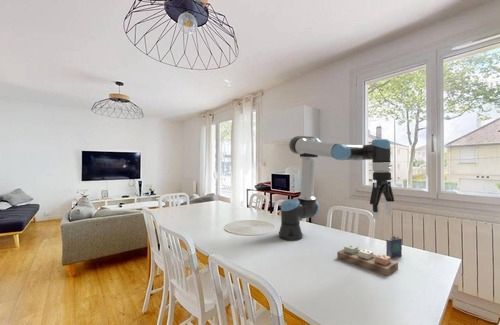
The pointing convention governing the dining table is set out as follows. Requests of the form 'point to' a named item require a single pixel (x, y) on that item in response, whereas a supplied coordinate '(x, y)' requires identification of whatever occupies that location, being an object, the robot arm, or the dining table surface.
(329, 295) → the dining table surface
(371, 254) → the tile
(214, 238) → the dining table surface
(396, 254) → the flask
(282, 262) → the dining table surface
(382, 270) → the board
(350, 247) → the tile
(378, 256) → the three-pip tile
